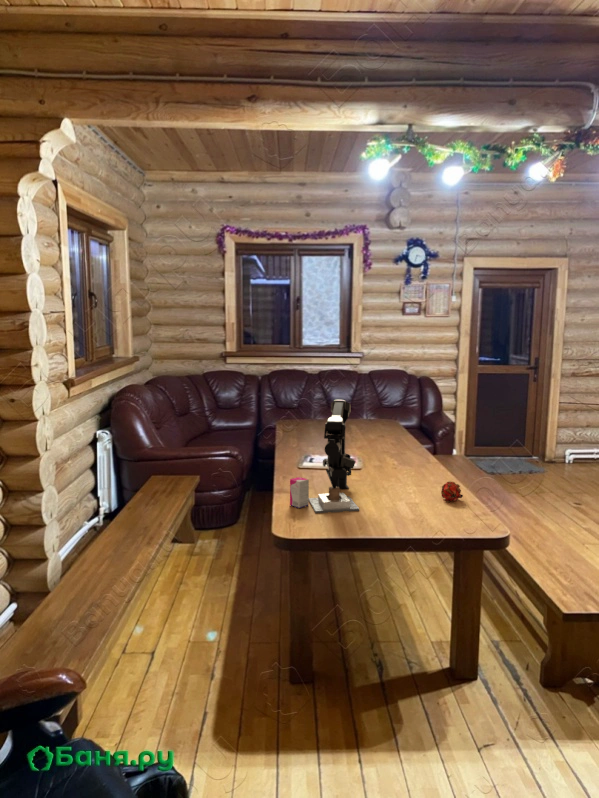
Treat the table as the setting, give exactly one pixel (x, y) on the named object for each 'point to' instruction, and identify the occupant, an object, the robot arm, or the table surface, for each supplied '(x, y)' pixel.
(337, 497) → the walnut dowel
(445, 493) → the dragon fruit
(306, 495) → the supplement box
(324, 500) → the jig
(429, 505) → the table surface
